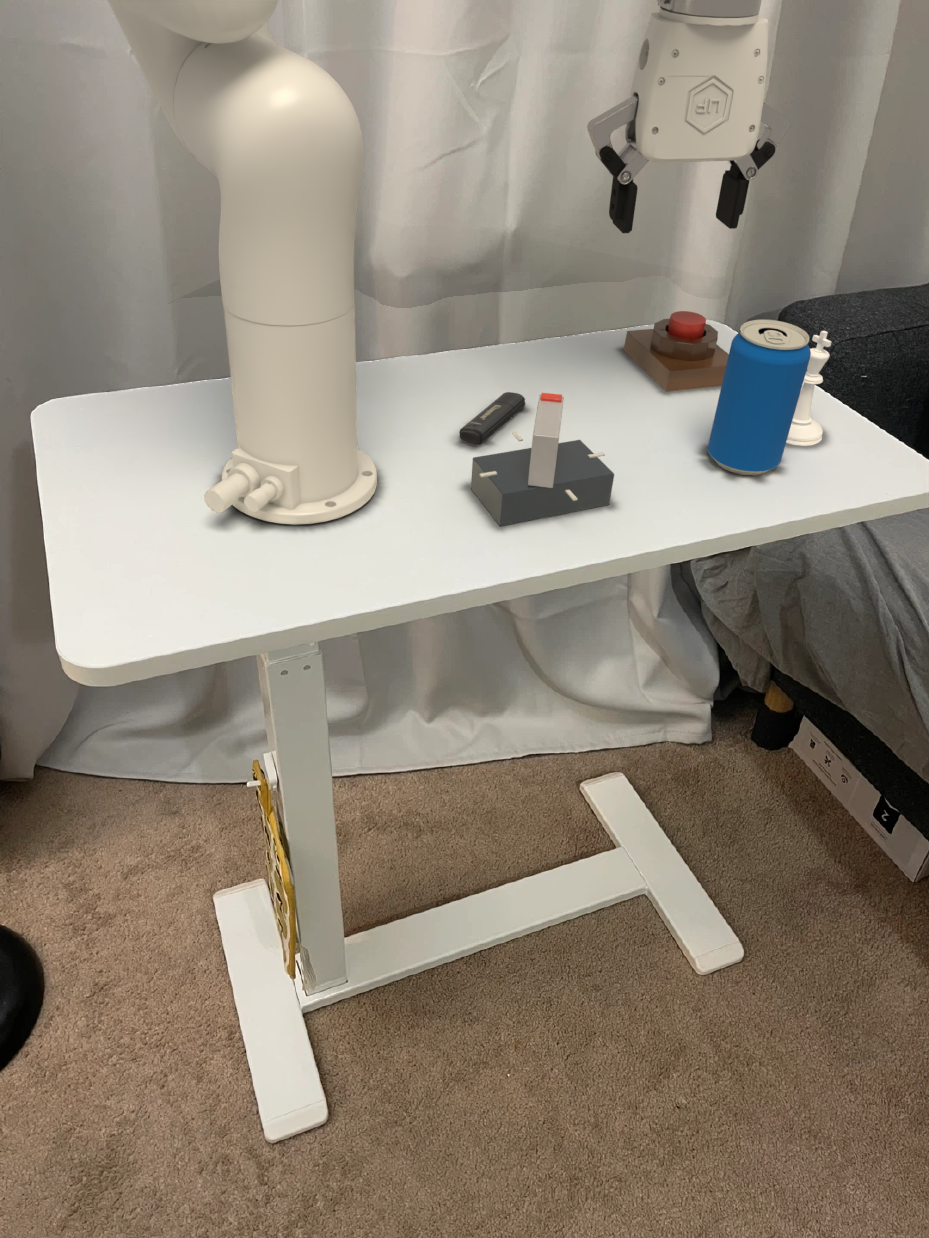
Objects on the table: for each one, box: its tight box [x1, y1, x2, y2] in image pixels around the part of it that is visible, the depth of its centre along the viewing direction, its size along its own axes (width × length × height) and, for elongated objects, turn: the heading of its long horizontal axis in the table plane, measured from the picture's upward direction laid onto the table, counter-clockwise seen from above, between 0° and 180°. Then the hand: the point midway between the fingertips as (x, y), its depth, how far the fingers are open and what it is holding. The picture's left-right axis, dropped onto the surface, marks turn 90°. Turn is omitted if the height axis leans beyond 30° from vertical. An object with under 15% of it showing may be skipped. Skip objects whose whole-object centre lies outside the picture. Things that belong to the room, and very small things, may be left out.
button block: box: [623, 318, 729, 393], centre depth 103 cm, size 10×8×4 cm
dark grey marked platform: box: [470, 431, 615, 527], centre depth 82 cm, size 11×11×3 cm
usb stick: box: [458, 391, 526, 446], centre depth 92 cm, size 10×3×2 cm, turn 151°
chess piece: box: [786, 330, 833, 447], centre depth 91 cm, size 5×5×10 cm
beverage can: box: [707, 319, 811, 476], centre depth 86 cm, size 6×6×12 cm
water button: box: [668, 310, 707, 339], centre depth 102 cm, size 4×4×2 cm
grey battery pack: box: [528, 392, 565, 488], centre depth 80 cm, size 7×2×5 cm, turn 172°
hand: (674, 226), depth 87 cm, fingers open, 9 cm apart
